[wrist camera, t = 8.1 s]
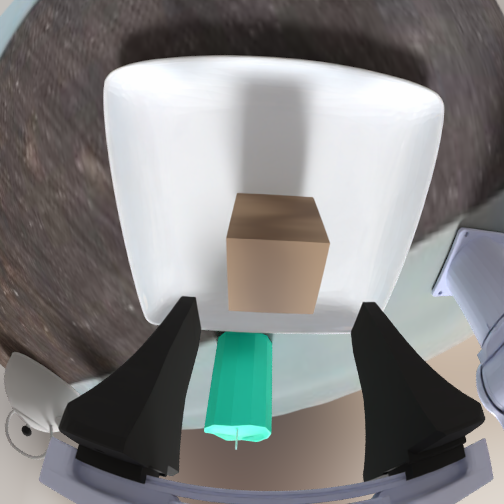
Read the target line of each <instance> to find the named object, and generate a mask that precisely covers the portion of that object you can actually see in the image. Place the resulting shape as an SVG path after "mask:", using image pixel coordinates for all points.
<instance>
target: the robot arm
mask: <svg viewBox="0 0 504 504" xmlns="http://www.w3.org/2000/svg"><path fill="white" fill-rule="evenodd" d="M465 233H466V234H465ZM432 295H433V296H453V297H454V298H455V300H456V302H457V303H458V305H459V307H460V308H461V310H462V312H463V314H464V315H465V317H466V319H467V321H468V323H469V325H470V326H471V328H472V330H473V332H474V334H475V336H476V338H477V340H478V342H479V344H480V346H481V348H482V350H481V351H480V352H479V353H478V354H477V356H478V358H479V360H480V363H481V364H480V365H479V367H478V369H477V373H476V386H477V391H478V395H479V398H480V400H481V402H482V404H483V405H484V407H485V408H486V409H487V410H488V411H489V412H490V413H492V414H493V415H494V416H495V417H496V418H497V420H499V422H500V424H501V426H502V427H503V429H504V233H500V232H493V231H486V230H479V229H471V228H460V229H459V230H458V233H457V235H456V238H455V240H454V243H453V246H452V248H451V251H450V253H449V255H448V258H447V260H446V262H445V265H444V267H443V269H442V271H441V274H440V276H439V278H438V280H437V282H436V284H435V286H434V288H433V290H432ZM200 333H201V324H200V318H199V313H198V307H197V301H196V297H189V296H182V297H180V299H179V300H178V301H177V303H176V304H175V306H174V307H173V308H172V310H171V311H170V312H169V314H168V315H167V316H166V318H165V319H164V320H163V322H162V323H161V324H160V325H159V327H158V328H157V329H156V330H155V332H154V333H153V334H152V335H151V336H150V337H149V338H148V340H147V341H146V342H145V343H144V344H143V345H142V346H141V347H140V348H139V350H138V351H137V352H136V353H135V354H134V355H133V356H132V357H131V358H130V359H128V360H127V361H126V362H125V363H124V364H123V365H122V366H121V367H120V368H118V369H117V370H116V371H115V372H114V373H113V374H111V375H110V376H109V377H108V378H106V379H105V380H103V381H102V382H101V383H99V384H98V385H96V386H95V387H94V388H92V389H91V390H89V391H88V392H86V393H84V394H82V395H81V396H79V397H77V398H76V399H74V400H72V401H70V402H68V404H67V406H66V408H65V410H64V413H63V416H62V419H61V421H60V424H59V427H58V429H59V431H60V432H61V433H63V434H64V435H66V436H67V437H69V438H70V439H72V440H73V441H75V442H76V443H78V444H79V446H78V449H76V448H74V447H73V446H70V445H68V444H66V443H64V442H62V441H60V440H58V439H56V438H54V437H51V439H50V442H49V446H48V449H47V452H46V455H45V459H44V462H43V466H42V469H41V473H40V477H39V481H40V482H41V483H43V484H44V485H46V486H47V487H49V488H51V489H52V490H54V491H56V492H57V493H59V494H61V495H62V496H64V497H66V498H68V499H69V500H71V501H73V502H75V503H76V504H189V503H183V502H181V501H179V499H178V497H176V496H179V497H184V498H190V499H196V500H203V501H210V502H218V503H229V504H311V503H321V502H329V501H337V500H343V499H349V498H354V497H360V496H364V495H369V494H373V493H376V494H375V495H374V496H373V497H372V498H371V499H369V500H364V501H359V502H354V503H349V504H455V503H457V502H458V501H460V500H462V499H463V498H465V497H466V496H468V495H469V494H471V493H473V492H474V491H476V490H477V489H479V488H480V487H482V486H484V485H485V484H487V483H488V482H490V481H491V480H492V479H493V474H492V467H491V462H490V457H489V452H488V448H487V444H486V439H485V438H484V439H481V440H480V441H478V442H476V443H474V444H471V445H469V446H468V447H466V448H464V446H463V444H464V443H465V442H466V438H465V435H467V434H468V433H470V432H472V431H473V430H474V429H476V428H477V427H479V426H480V425H481V424H482V423H483V422H484V420H485V416H484V413H483V410H482V407H481V404H480V403H479V402H477V401H476V400H474V399H472V398H471V397H469V396H467V395H466V394H464V393H462V392H461V391H460V390H458V389H457V388H455V387H454V386H453V385H451V384H450V383H448V382H447V381H446V380H445V379H444V378H442V377H441V376H440V375H439V374H438V373H437V372H436V371H434V370H433V369H432V368H431V367H430V366H429V365H428V364H427V363H426V362H425V361H424V360H423V359H422V358H421V357H420V356H419V355H418V354H417V352H416V351H415V350H414V349H413V348H412V347H411V346H410V345H409V343H408V342H407V341H406V340H405V339H404V337H403V336H402V335H401V334H400V333H399V331H398V330H397V329H396V328H395V326H394V325H393V324H392V323H391V321H390V320H389V319H388V317H387V316H386V315H385V314H384V312H383V311H382V310H381V309H380V307H379V306H378V305H377V304H376V302H363V303H362V305H361V308H360V310H359V313H358V316H357V318H356V321H355V323H354V325H353V328H352V330H351V338H352V347H353V353H354V358H355V362H356V366H357V371H358V375H359V379H360V384H361V388H362V393H363V399H364V410H365V429H366V444H365V446H366V447H365V462H364V471H363V479H364V482H362V483H357V484H351V485H345V486H338V487H331V488H322V489H311V490H297V491H246V490H230V489H219V488H212V487H204V486H197V485H191V484H185V483H180V482H175V481H170V480H165V479H161V478H159V476H163V477H166V476H167V475H169V476H174V475H175V474H177V473H178V472H179V455H180V440H181V429H182V420H183V412H184V405H185V398H186V393H187V389H188V385H189V381H190V378H191V374H192V370H193V366H194V363H195V359H196V355H197V351H198V347H199V340H200Z"/></svg>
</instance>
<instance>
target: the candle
mask: <svg viewBox="0 0 504 504" xmlns="http://www.w3.org/2000/svg"><path fill="white" fill-rule="evenodd" d="M271 420H272V343H271V341H270V340H269V338H268V336H267V335H265V334H263V333H249V332H231V331H226V332H224V333H223V334H222V335H221V336H220V337H218V343H217V349H216V356H215V362H214V368H213V374H212V381H211V387H210V394H209V400H208V407H207V414H206V420H205V427H204V430H205V432H206V433H212V434H215V435H217V436H218V437H221V438H223V439H225V440H236V444H235V449H237V440H247V441H254V442H258V441H261V440H264V439H267V438H268V437H269V436H270V434H271Z"/></svg>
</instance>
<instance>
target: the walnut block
mask: <svg viewBox="0 0 504 504" xmlns="http://www.w3.org/2000/svg"><path fill="white" fill-rule="evenodd" d="M329 246H330V241H329V239H328V236H327V233H326V230H325V227H324V224H323V222H322V219H321V216H320V213H319V211H318V208H317V205H316V203H315V200H314V198H313V197H303V196H288V195H271V194H250V193H237V195H236V199H235V203H234V207H233V211H232V215H231V219H230V224H229V228H228V232H227V236H226V252H227V282H228V306H229V311H241V312H261V313H286V314H313V313H314V309H315V305H316V301H317V298H318V294H319V290H320V286H321V281H322V277H323V273H324V269H325V264H326V260H327V256H328V251H329Z"/></svg>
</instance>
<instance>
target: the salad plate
mask: <svg viewBox="0 0 504 504" xmlns="http://www.w3.org/2000/svg"><path fill="white" fill-rule="evenodd" d="M104 119H105V131H106V140H107V148H108V155H109V162H110V169H111V175H112V181H113V187H114V193H115V198H116V204H117V209H118V214H119V219H120V224H121V228H122V233H123V237H124V242H125V247H126V250H127V255H128V259H129V263H130V268H131V271H132V275H133V279H134V283H135V286H136V290H137V294H138V297H139V301H140V304H141V307H142V310H143V313H144V316H145V318H146V319H147V321H148V322H150V323H152V324H155V325H160V324H161V323H162V322H163V320H164V319H165V318H166V316H167V315H168V314H169V312H170V311H171V310H172V308H173V307H174V306H175V304H176V303H177V301H178V300H179V299H180V297H182V296H189V297H196V301H197V307H198V313H199V318H200V324H201V329H202V330H215V331H231V332H249V333H280V334H349V333H351V330H352V328H353V325H354V323H355V321H356V318H357V316H358V313H359V310H360V308H361V305H362V303H363V302H376V304H377V305H378V306H379V307H380V309H381V310H382V311H384V309H385V307H386V305H387V303H388V300H389V298H390V296H391V294H392V291H393V289H394V287H395V285H396V282H397V280H398V277H399V275H400V272H401V270H402V267H403V265H404V262H405V259H406V257H407V254H408V251H409V248H410V246H411V243H412V240H413V237H414V234H415V231H416V228H417V225H418V222H419V219H420V216H421V213H422V209H423V206H424V203H425V199H426V196H427V192H428V189H429V185H430V182H431V178H432V174H433V170H434V166H435V162H436V158H437V153H438V149H439V144H440V139H441V133H442V127H443V120H444V104H443V101H442V99H441V97H440V96H439V95H438V94H437V93H436V92H434V91H433V90H431V89H429V88H427V87H424V86H422V85H420V84H417V83H414V82H411V81H408V80H405V79H402V78H398V77H394V76H391V75H387V74H383V73H378V72H374V71H370V70H366V69H361V68H356V67H350V66H345V65H339V64H333V63H327V62H320V61H312V60H303V59H292V58H279V57H264V56H237V55H211V56H186V57H173V58H163V59H153V60H146V61H141V62H136V63H132V64H128V65H125V66H122V67H120V68H117V69H115V70H114V71H112V72H111V73H109V75H108V76H107V78H106V80H105V83H104ZM237 193H250V194H271V195H288V196H303V197H313V198H314V200H315V203H316V205H317V208H318V211H319V213H320V216H321V219H322V222H323V224H324V227H325V230H326V233H327V236H328V239H329V241H330V246H329V251H328V256H327V260H326V264H325V269H324V273H323V277H322V281H321V286H320V290H319V294H318V298H317V301H316V305H315V309H314V313H313V314H286V313H261V312H241V311H229V306H228V282H227V252H226V236H227V232H228V228H229V224H230V219H231V215H232V211H233V207H234V203H235V199H236V195H237Z"/></svg>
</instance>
